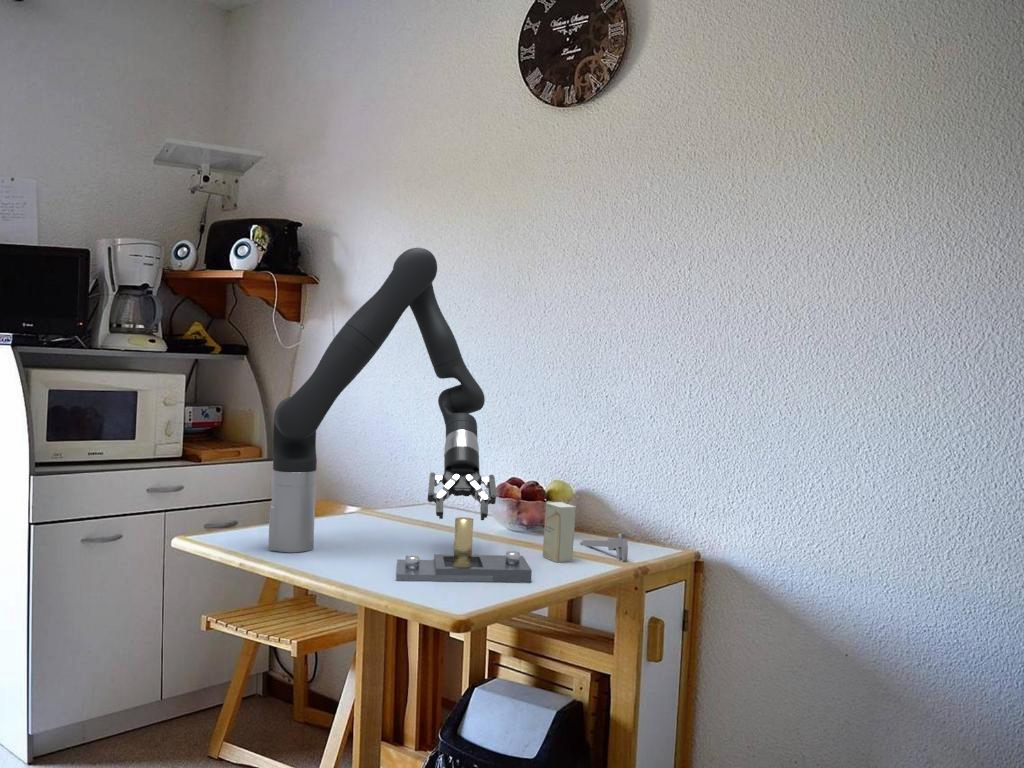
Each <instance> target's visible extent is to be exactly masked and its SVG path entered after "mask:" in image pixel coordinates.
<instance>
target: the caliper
mask: <svg viewBox="0 0 1024 768" xmlns="http://www.w3.org/2000/svg"><path fill="white" fill-rule="evenodd" d="M579 544H580V545H582V546H584V547H603V548H605V547H606V548H607V549H608V551H616V556H617V560H618V559H619V560H618V561H621V562H622V561H623V562H627V561H628V552H629V546H628V545H629V544H628V539H627V538H626V533H618V535H617V537H616V538H607V540H606V539H582V541H580V542H579Z"/></svg>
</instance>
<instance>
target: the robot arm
mask: <svg viewBox="0 0 1024 768" xmlns="http://www.w3.org/2000/svg"><path fill="white" fill-rule="evenodd" d="M395 259H396V260H395V261H394V262H393V266H392V270H391V272H390V273H389V275H388V276H387V277H386V279H385V281H384V282H383V284H382V285H381V286H380V288H379V289H378V290H377V291H376V292H375V293H374V294H373V295H372V296H371V297H370V298H369V299H368V300H367V301H365V303H364V304H363V305H361V306H360V307H359V308H358V309H357V310H356V311H355V312H354V314H352V315H351V317H349V319H348V320H347V321H346V322H345V323H344V325H342V327H341V328H340V330H339V331H338V332H337V333H336V335H334V337H333V339H332V340H331V342H330V344H328V347H326V350H325V351H324V353H323V355H322V356H321V359H320V360H319V362H318V364H317V366H316V368H315V369H314V371H313V372H312V374H311V375H310V377H309V378H308V379H306V381H305V382H304V383H303V384H302V385H301V386H300V388H299V389H298V390H297V391H296V392H295V393H294V394H292V396H289V397H286V398H284V399H283V400H281V401H280V402H279V403H278V405H276V408H275V411H274V414H273V415H274V416H273V425H272V427H273V429H272V430H273V431H272V434H273V436H272V463H273V464H272V483H271V484H272V486H271V487H272V488H271V489H272V490H271V492H272V493H271V505H270V507H269V517H268V518H269V522H268V523H269V524H268V546H267V551H274V552H280V553H301V552H302V553H303V552H308V551H311V550H313V549H314V541H315V538H314V537H315V536H314V535H315V519H316V518H315V513H316V512H315V511H316V492H317V464H318V463H317V462H318V458H317V447H316V446H317V445H316V442H317V441H316V439H317V430H318V428H319V427H320V425H321V423H322V422H323V420H324V419H325V417H326V415H327V414H328V412H329V410H330V409H331V408H332V406H333V405H334V403H335V401H336V400H337V399H338V397H339V396H340V395H341V393H342V392H343V391H344V390H345V389H346V388H347V387H348V386H349V385H350V384H351V383H352V382H353V381H354V380H355V378H356V377H357V376H358V375H359V374H360V373H361V372H362V370H363V369H364V368H365V367H366V366H367V365H368V363H370V361H371V360H372V359H373V357H374V356H375V355H376V354H377V352H378V351H379V350H380V348H381V347H382V345H383V344H384V343H385V341H386V340H387V338H388V337H389V336H390V334H391V332H392V331H393V330H394V328H395V326H396V325H397V323H398V321H399V320H400V318H401V316H402V315H403V314H404V313H405V311H406V310H407V309H408V308H410V310H411V312H412V315H413V317H414V319H415V321H416V324H417V326H418V329H419V331H420V334H421V337H422V339H423V343H424V345H425V348H426V352H427V354H428V357H429V359H430V362H431V365H432V367H433V371H434V373H435V375H436V377H437V378H438V379H440V380H441V379H443V380H445V379H456V380H457V382H459V383H460V384H458V385H455V386H452V387H449V388H446V389H444V390H442V391H441V392H440V393H439V396H438V398H437V402H438V403H437V404H438V407H439V410H440V411H441V415H442V417H443V421H444V426H445V442H444V451H443V457H444V458H443V459H444V460H443V461H444V464H443V469H444V470H443V471H444V472H443V474H442V475H436V473H435V472H430V473H429V479H428V489H427V502H428V503H432V502H433V503H435V504H436V505H435V515H436V517H439V518H438V519H439V520H443V519H444V502H445V501H446V500H448V499H449V498H450V497H451V496H452V495H453V496H454V497H460V496H463V497H470V496H471V497H472V498H473V499H474V500H475V501H477V502H478V503H479V504H480V506H479V507H480V521H485V518H486V519H487V518H488V515H489V505H490V504H491V505H494V504H496V501H497V494H498V493H497V487H496V486H497V485H496V478H495V475H494V474H490V475H488V476H486V477H484V476H483V477H482V476H481V474H480V446H479V442H478V422H477V420H476V418H475V417H474V416H473V415H472V414H473V413H475V412H479V411H481V410H482V408H483V407H484V405H485V399H486V398H485V394H484V391H483V389H482V388H481V387H480V385H479V383H478V381H477V380H476V379H475V378H474V376H473V375H472V374H471V372H470V370H469V368H468V367H467V365H466V363H465V361H464V358H463V357H462V356H463V355H462V353H461V351H460V348H459V346H458V343H457V340H456V337H455V334H454V333H453V331H452V329H451V326H450V325H449V323H448V321H447V320H446V319H445V316H444V314H443V313H442V310H441V308H440V306H439V303H438V301H437V298H436V294H435V290H434V286H433V282H434V280H435V279H436V276H437V273H438V262H437V259H436V256H435V255H434V254H433V253H432V252H431V251H430V250H429V249H426V248H422V247H413V248H409V249H406V250H404V251H403V252H402V253H400V254H399V256H398V257H397V258H395ZM440 483H441V484H442V485H443V487H442V489H440V491H439V492H438V493H436V492H435V488H436V487H438V486H439V484H440ZM482 484H483V485H484V486H485V488H486V489H487V490H488V494H487V493H486V492H485V491H484V490H483V488H482V487H481V485H482Z"/></svg>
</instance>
